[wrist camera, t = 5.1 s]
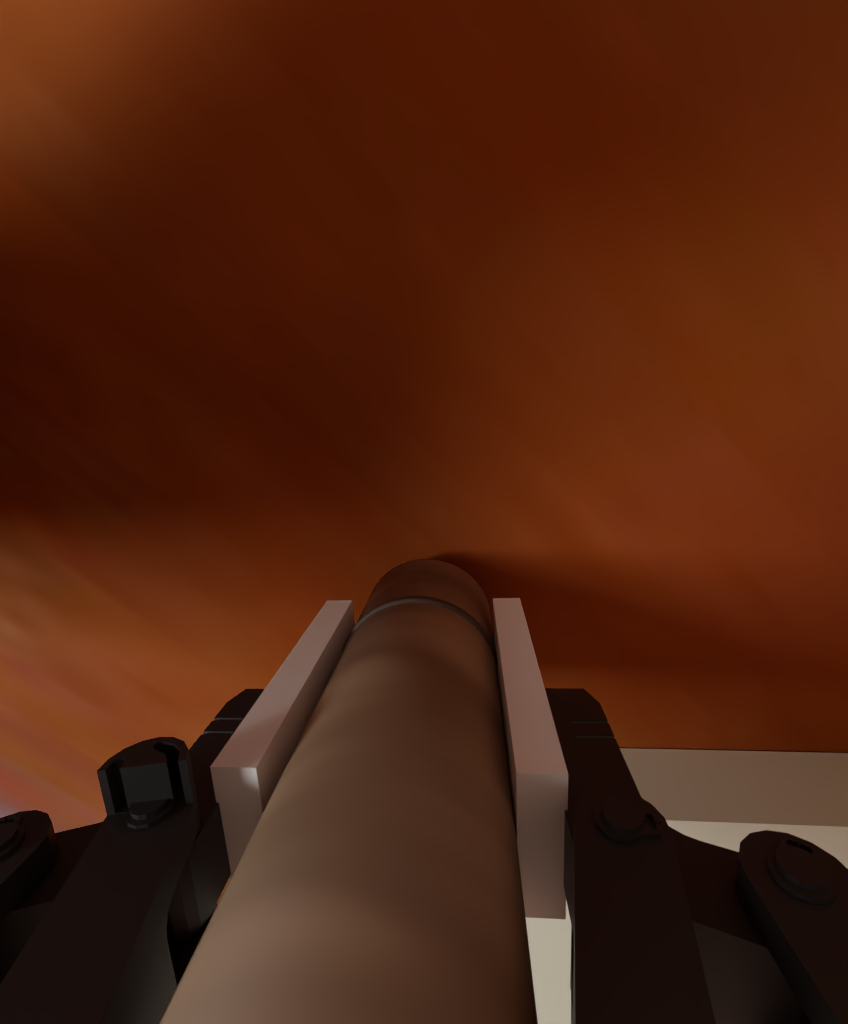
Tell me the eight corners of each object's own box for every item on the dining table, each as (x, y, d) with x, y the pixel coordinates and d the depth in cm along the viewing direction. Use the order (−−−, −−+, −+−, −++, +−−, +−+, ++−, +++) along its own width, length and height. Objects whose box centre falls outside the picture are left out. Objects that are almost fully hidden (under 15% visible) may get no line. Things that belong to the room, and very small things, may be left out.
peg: (370, 674, 16) (120, 1389, 4) (360, 559, 15) (16, 1073, 4) (493, 675, 16) (572, 1460, 4) (490, 556, 15) (582, 1123, 3)
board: (437, 1065, 21) (431, 1172, 18) (417, 743, 18) (407, 810, 15) (944, 1111, 19) (1031, 1241, 16) (1030, 757, 15) (1161, 838, 13)
